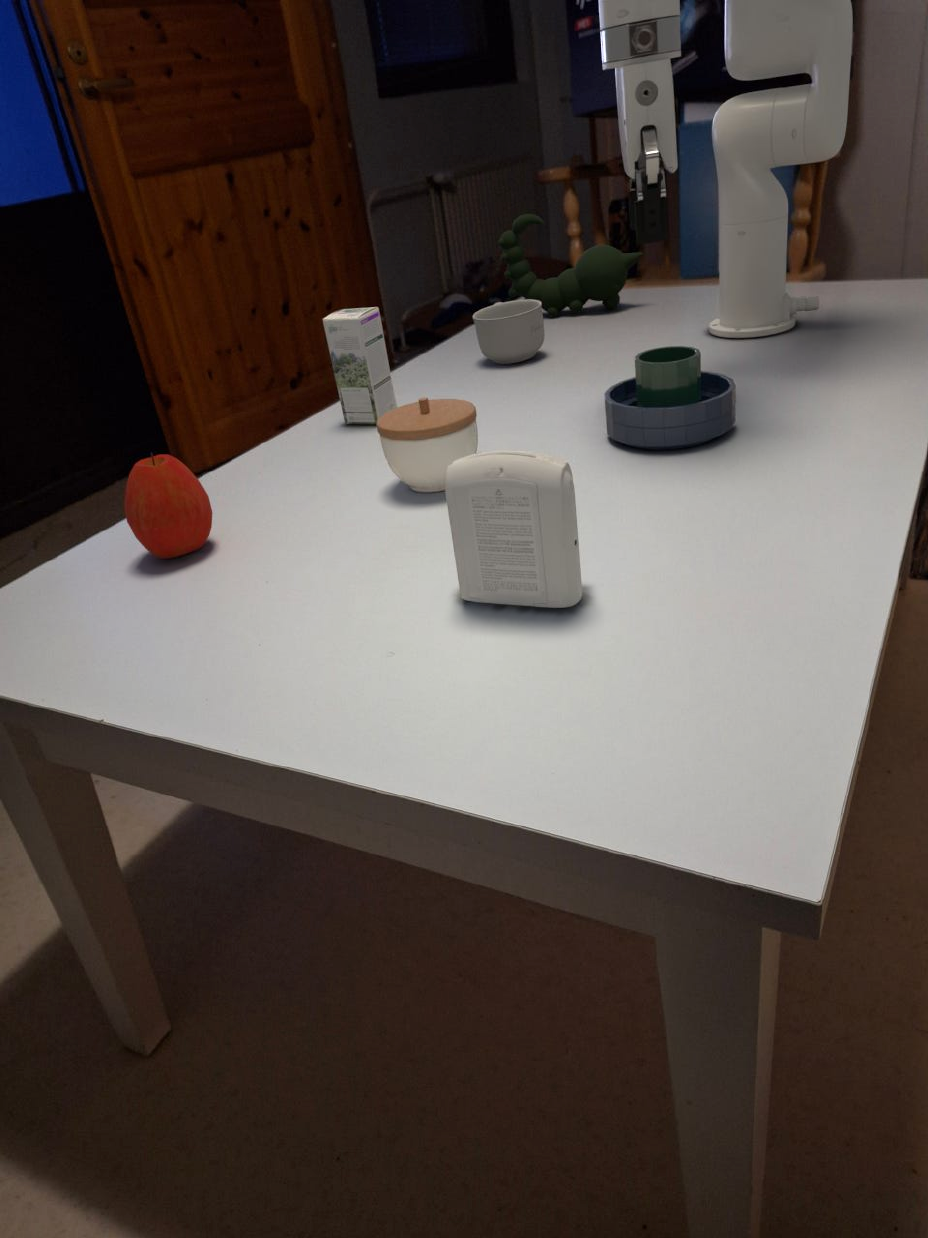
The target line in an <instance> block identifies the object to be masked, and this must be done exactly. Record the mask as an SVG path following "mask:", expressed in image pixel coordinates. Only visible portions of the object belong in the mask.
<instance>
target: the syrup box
mask: <svg viewBox="0 0 928 1238" xmlns="http://www.w3.org/2000/svg"><path fill="white" fill-rule="evenodd" d="M322 324H323V329H324V334H325V339H326V342H327V347H328V351H329V356H330V360H331V365H332V371H333V375H334V379H335V383H336V387H337V388H336V389H337V393H338V397H339V401H340V406H341V411H342V415H343V420H344V421H343V422H344V424H345V425H376V423H377V420H378V419H379V418H380V417H381V416H382V415H383V414H385V413H387V412H388V411H390V410H393V409H395V408H398V403H397V398H396V395H395V389H394V385H393V379H392V374H391V373H392V372H391V367H390V364H389V358H388V353H387V346H386V341H385V334H384V329H383V324H382V319H381V314H380V308H379V307H378V306H373V307H358V308H357V307H356V308H343V309H339V310H336V311H334V312H332V313H330V314H328V315H327V316H325V317H323V318H322Z"/></svg>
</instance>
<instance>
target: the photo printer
mask: <svg viewBox="0 0 928 1238" xmlns="http://www.w3.org/2000/svg"><path fill="white" fill-rule="evenodd" d="M575 489H576V488H575V484H574V477H573V472H572V468H571V464H569V462H567V461H565V460H562V459H560V458H558V457H554V456H551V455H547V454H543V453H539V452H534V451H527V450H526V451H525V450H515V449H514V450H513V449H501V450H499V449H498V450H488V451H482V452H477V453H476V454H473V455H469V456H466V457H463V458H460V459H458V460H456V461H453V464H452V465H449V466H448V468H447V472H446V479H445V490H444V492H445V493H444V494H445V500H446V507H447V512H448V520H449V527H450V532H451V533H450V534H451V538H452V546H453V553H454V560H455V565H456V573H457V574H456V575H457V581H458V588H459V593H460V597H461V599H462V600H464V601H469V602H474V603H484V604H485V603H487V604H498V605H510V606H524V607H536V608H553V609H557V608H559V609H560V608H563V609H564V608H571V607H574V606H575V605H577V604H578V603H579V602H580V601H581V600H582V597H583V584H582V569H581V557H580V556H581V555H580V543H579V542H580V541H579V532H578V531H579V530H578V516H577V515H578V514H577V503H576V502H577V501H576V490H575Z"/></svg>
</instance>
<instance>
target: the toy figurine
mask: <svg viewBox="0 0 928 1238" xmlns="http://www.w3.org/2000/svg"><path fill="white" fill-rule="evenodd" d="M533 225H538V226H540V227H544V226H545V222H544V220H543V219H542V217H540V216H538V215H537V214H534V213H525V214H521V215H519V216H518V217H516V219H514V220H513V222H512V226H511V230H506V231H503V232H502V234H501V236H500V239H498V242H497V244H498V246H499V247H501V248H502V249H503V251H502V253H501V255H500V259H501V261H502V262H504V263H506V270H505V271H504V272H503V276H504V278H505V279H506V280H507V279H510V280H511V281H512V283H511V285H512V286H511V287H510V288H509V289H508V291H507V294H508V296H509V297H510V298H516V297H517V296H519V297H521V298H524V300H525V299H532V300H538V301H541V303H542V307H541V308H542V311H544V312H546V314H547V316H548V317H549V318H555V317H557V316H558V314H559V313H560V312H562V311H564V310H565V309H566V308H568V310H569V311H570V312H572V313H573V314H579V312H581V311H582V310H583V308H584V305H586V303H588V301H589V300H590V301H595V302H601V304H602V306H603V308H605V309H606V310H607V311H609V310H614V309H616V308H617V307H618V306H619V304H620V302H621V297H620V294H619V293H620V292H621V291H622V290H623V288H624V287H625V285H626V282H627V281H628V273H629V270H630V269H631V268H632V267H633V266H634V265H635V264H636V263H638V261H640V260H641V259H642V258H643V257H644V253H643V252H628V253H625V252H621V251H620V250H619V249H617V248H616V247H613V246H612V245H608V244H597V245H594V246H591V247H590V248H588V249H586V250H585V251H584V252H583V253H582V254H581V255H580V256H579V258H578V259H577V261H576V263H575V266H574V267H570V268H567V269H565V270H564V271H563V272H561V273H560V274H559V275H558V277H550V278H546V279H545V280H544V279H542V278H538V277H537V275H536V274H535V273H534V272H532V270H531V265H530V263H529V261H528V260H527V259H526V258H525V249H524V247H523V246H522V245H521V244H520V237H519V235H521V234H523V233H524V232H525V231H526V230H527V229H528V227H530V226H533Z"/></svg>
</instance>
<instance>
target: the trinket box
mask: <svg viewBox="0 0 928 1238" xmlns="http://www.w3.org/2000/svg"><path fill="white" fill-rule="evenodd" d="M375 425H376V430H377V433H378V435H379V440H380V445H381V448H382V452H383V455H384V458H385V460H386V462H387V464H388V466H389V468H390V470H391V472H393V474H394V475H395V476H396V477H397V478H398V480H400V481H402V482H403V483H404V484H406V485H407V486H409V489H411V491H413V492H418V493H428V494H429V493H438V492H445V479H446V472H447V468H448V466H449V465H452V464H453V461H456V460H458V459H460V458H463V457H466V456H469V455H473V454H477V453H478V446H479V441H478V440H479V432H478V424H477V408H476V406H475V405H474V403H472V402H471V401H468V400H465V399H457V398H438V399H437V398H436V399H435V398H434V399H429V397H425V396H424V397H420V398H418V401H415V402H411V403H407V404H404V405H400V406H397V408H395V409H393V410H390V411H388V412H387V413H385V414H383V415H382V416H381V417H380V418H379V419H378V420H377V423H376V424H375Z"/></svg>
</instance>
